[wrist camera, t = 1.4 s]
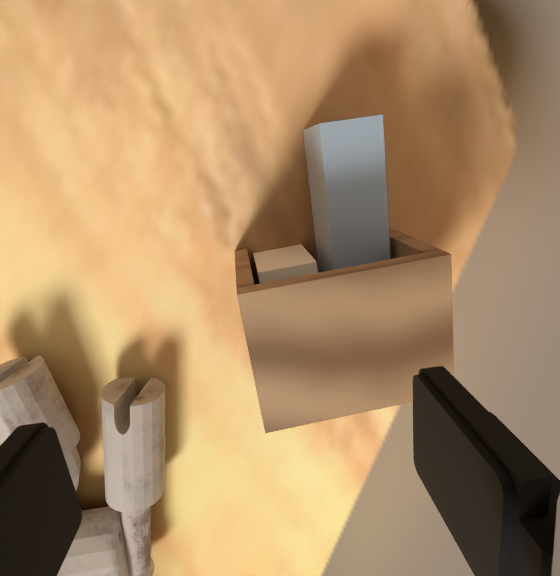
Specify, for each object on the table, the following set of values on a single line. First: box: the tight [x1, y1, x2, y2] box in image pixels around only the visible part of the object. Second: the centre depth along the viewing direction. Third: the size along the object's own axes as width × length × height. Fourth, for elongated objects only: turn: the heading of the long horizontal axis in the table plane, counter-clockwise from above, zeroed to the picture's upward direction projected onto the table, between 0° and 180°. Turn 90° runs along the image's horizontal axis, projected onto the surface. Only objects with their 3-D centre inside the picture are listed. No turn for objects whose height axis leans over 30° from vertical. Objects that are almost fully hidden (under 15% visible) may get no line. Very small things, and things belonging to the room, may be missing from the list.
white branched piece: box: [0, 355, 165, 576], centre depth 34 cm, size 31×7×30 cm
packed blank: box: [253, 244, 318, 284], centre depth 31 cm, size 7×4×6 cm, turn 9°
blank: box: [303, 114, 390, 273], centre depth 29 cm, size 13×4×6 cm, turn 8°
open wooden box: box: [235, 228, 454, 433], centre depth 28 cm, size 9×12×11 cm
